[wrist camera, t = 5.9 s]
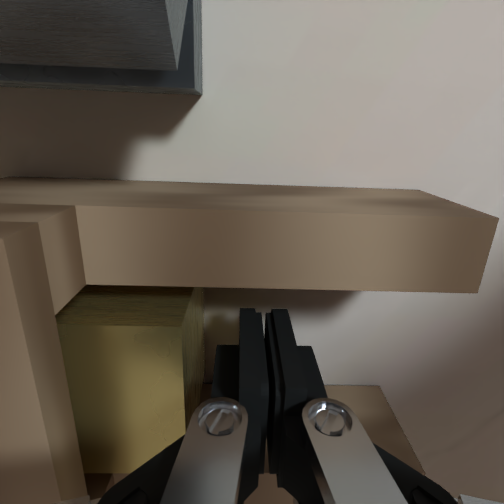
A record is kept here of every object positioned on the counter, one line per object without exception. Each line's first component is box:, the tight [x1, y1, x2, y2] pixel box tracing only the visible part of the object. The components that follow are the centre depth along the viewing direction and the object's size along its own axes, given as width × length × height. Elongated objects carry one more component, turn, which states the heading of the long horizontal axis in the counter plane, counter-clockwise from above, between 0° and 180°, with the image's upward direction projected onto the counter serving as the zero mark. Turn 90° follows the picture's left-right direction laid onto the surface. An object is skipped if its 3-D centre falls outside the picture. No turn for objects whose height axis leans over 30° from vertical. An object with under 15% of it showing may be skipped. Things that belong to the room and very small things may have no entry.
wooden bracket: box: [0, 177, 499, 504], centre depth 10 cm, size 14×10×6 cm
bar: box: [55, 284, 205, 473], centre depth 11 cm, size 12×5×5 cm, turn 88°
